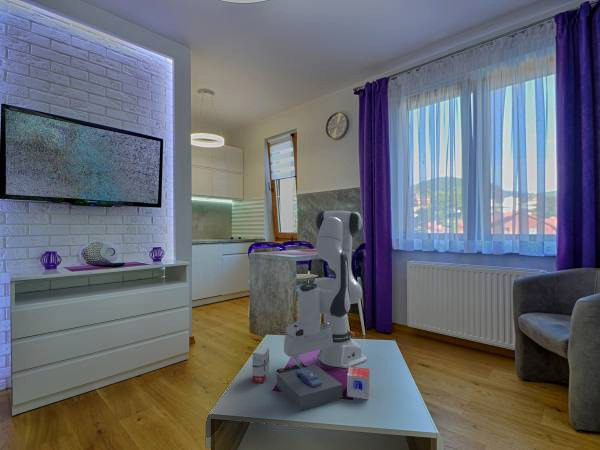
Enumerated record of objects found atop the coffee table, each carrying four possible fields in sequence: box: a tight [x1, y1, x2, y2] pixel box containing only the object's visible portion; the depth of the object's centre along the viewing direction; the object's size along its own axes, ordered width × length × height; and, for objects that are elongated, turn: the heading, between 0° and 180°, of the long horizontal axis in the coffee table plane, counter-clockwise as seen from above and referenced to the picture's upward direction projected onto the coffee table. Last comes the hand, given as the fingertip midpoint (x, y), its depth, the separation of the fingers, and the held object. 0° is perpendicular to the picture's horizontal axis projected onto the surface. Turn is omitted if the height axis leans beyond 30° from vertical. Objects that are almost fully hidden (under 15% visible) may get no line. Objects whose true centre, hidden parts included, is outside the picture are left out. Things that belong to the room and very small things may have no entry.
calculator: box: [276, 361, 307, 374], centre depth 135 cm, size 9×12×3 cm
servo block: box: [296, 368, 322, 387], centre depth 120 cm, size 4×13×8 cm, turn 29°
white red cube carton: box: [346, 366, 370, 400], centre depth 120 cm, size 8×8×8 cm
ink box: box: [251, 345, 270, 384], centre depth 131 cm, size 9×5×12 cm, turn 168°
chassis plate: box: [276, 364, 343, 412], centre depth 120 cm, size 18×19×5 cm
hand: (309, 362), depth 120 cm, fingers open, 8 cm apart
